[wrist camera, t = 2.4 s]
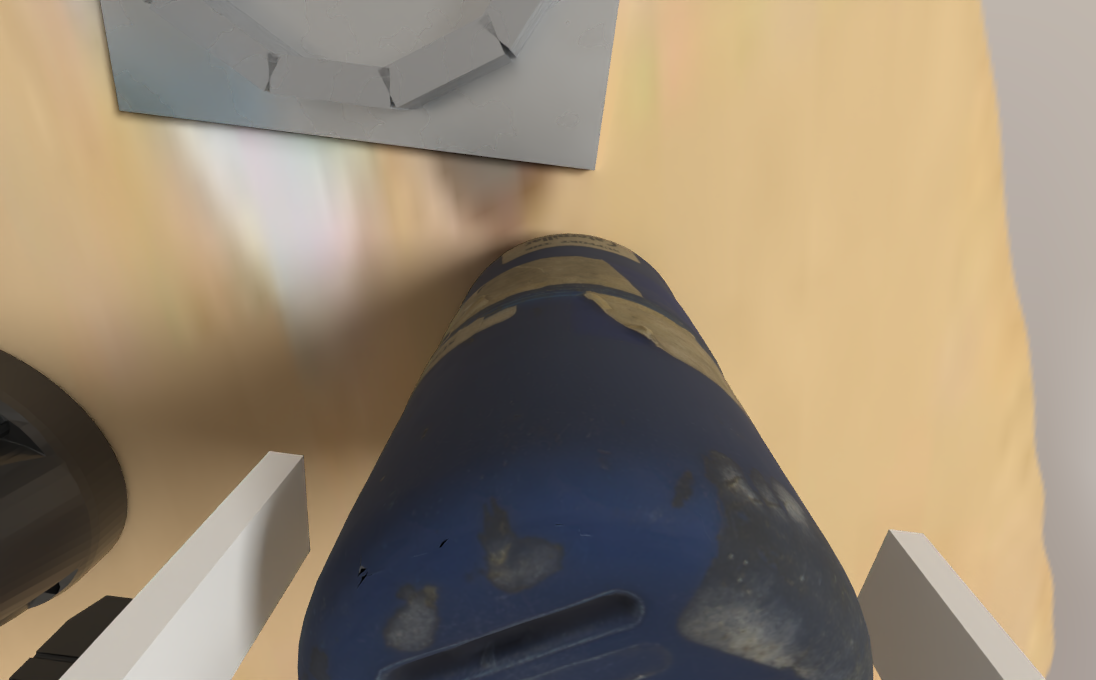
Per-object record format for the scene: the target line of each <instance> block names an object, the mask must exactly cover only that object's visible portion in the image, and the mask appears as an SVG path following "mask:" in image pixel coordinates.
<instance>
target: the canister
mask: <svg viewBox="0 0 1096 680" xmlns="http://www.w3.org/2000/svg"><path fill="white" fill-rule="evenodd" d="M298 680H873V659H872V651H871V643H870V637H869V633H868V629H867V626H866V622H865V619H864V616H863V613H862V610H861V606H860V604H859V601H858V599H857V596H856V594H855V591H854V589H853V587H852V585H851V583H850V581H849V579H848V577H847V575H846V573H845V571H844V569H843V567H842V565H841V564H840V562H839V560H838V558H837V557H836V555H835V553H834V552H833V550H832V548H831V547H830V545H829V543H828V541H827V540H826V538H825V537H824V535H823V534H822V532H821V531H820V529H819V527H818V526H817V524H816V523H815V521H814V520H813V518H812V516H811V515H810V513H809V512H808V510H807V509H806V507H805V505H804V504H803V502H802V501H801V499H800V497H799V496H798V494H797V493H796V491H795V490H794V488H793V487H792V485H791V484H790V482H789V481H788V479H787V477H786V476H785V474H784V473H783V471H782V470H781V468H780V466H779V465H778V463H777V462H776V460H775V458H774V457H773V455H772V454H771V452H770V450H769V449H768V447H767V446H766V444H765V443H764V441H763V439H762V438H761V436H760V434H759V432H758V431H757V429H756V428H755V426H754V424H753V423H752V421H751V419H750V418H749V416H748V415H747V413H746V411H745V410H744V408H743V407H742V405H741V403H740V402H739V401H738V399H737V398H736V396H735V395H734V393H733V391H732V390H731V388H730V386H729V385H728V383H727V381H726V380H725V378H724V376H723V373H722V371H721V369H720V367H719V365H718V363H717V361H716V359H715V358H714V356H713V355H712V353H711V351H710V350H709V348H708V347H707V345H706V343H705V342H704V340H703V339H702V337H701V336H700V334H699V332H698V331H697V329H696V328H695V326H694V325H693V323H692V322H691V320H690V319H689V317H688V316H687V314H686V313H685V311H684V310H683V308H682V307H681V306H680V305H679V303H678V302H677V301H676V299H675V297H674V295H673V293H672V292H671V290H670V288H669V287H668V285H667V284H666V282H665V281H664V280H663V278H662V277H661V276H660V275H659V273H658V272H657V271H656V270H655V269H654V268H653V267H652V266H651V265H650V264H649V263H647V262H646V261H645V260H644V259H642V258H641V257H640V256H638V255H637V254H635V253H634V252H632V251H631V250H629V249H628V248H626V247H624V246H621V245H619V244H617V243H614V242H612V241H608V240H605V239H602V238H598V237H594V236H590V235H582V234H556V235H549V236H544V237H540V238H536V239H533V240H530V241H528V242H525V243H523V244H521V245H518V246H516V247H514V248H512V249H511V250H509V251H507V252H506V253H504V254H503V255H502V256H500V257H499V258H498V259H497V260H496V261H494V262H493V263H492V264H491V265H490V266H489V267H488V268H487V269H486V270H485V271H484V272H483V273H482V274H481V275H480V276H479V278H478V279H477V280H476V282H475V283H474V284H473V286H472V287H471V289H470V291H469V292H468V294H467V296H466V298H465V299H464V301H463V303H462V305H461V307H460V309H459V311H458V313H457V314H456V316H455V317H454V318H453V320H452V322H451V324H450V326H449V328H448V330H447V331H446V333H445V335H444V337H443V339H442V341H441V343H440V345H439V347H438V349H437V351H436V352H435V353H434V354H433V356H432V357H431V359H430V361H429V362H428V364H427V366H426V368H425V370H424V371H423V373H422V375H421V377H420V379H419V381H418V383H417V385H416V387H415V389H414V391H413V393H412V395H411V397H410V398H409V401H408V403H407V405H406V408H405V410H404V412H403V414H402V416H401V418H400V420H399V422H398V423H397V425H396V427H395V429H394V431H393V433H392V435H391V436H390V438H389V440H388V442H387V444H386V446H385V448H384V450H383V451H382V453H381V455H380V457H379V459H378V461H377V463H376V465H375V467H374V469H373V471H372V473H371V474H370V476H369V478H368V480H367V482H366V484H365V486H364V488H363V489H362V491H361V493H360V495H359V497H358V499H357V501H356V503H355V504H354V506H353V508H352V510H351V512H350V514H349V516H348V518H347V520H346V522H345V524H344V526H343V528H342V530H341V532H340V535H339V537H338V539H337V541H336V543H335V545H334V547H333V549H332V551H331V553H330V555H329V557H328V559H327V561H326V564H325V566H324V568H323V570H322V572H321V574H320V576H319V578H318V580H317V583H316V586H315V588H314V591H313V594H312V597H311V600H310V602H309V605H308V608H307V611H306V614H305V618H304V621H303V626H302V631H301V636H300V641H299V651H298Z"/></svg>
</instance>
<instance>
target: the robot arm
mask: <svg viewBox="0 0 1096 680" xmlns="http://www.w3.org/2000/svg"><path fill="white" fill-rule="evenodd" d="M126 517H127V491H126V486H125V481H124V477H123V474H122V471H121V468H120V465H119V463H118V461H117V459H116V456H115V454H114V452H113V451H112V449H111V447H110V445H109V443H108V442H107V440H106V439H105V437H104V435H103V434H102V433H101V431H100V430H99V428H98V427H97V426H96V424H95V423H94V422H93V421H92V420H91V418H90V417H89V416H88V415H87V414H86V413H85V411H84V410H83V409H82V408H81V407H80V406H79V405H78V404H77V403H76V402H75V401H74V400H73V399H72V398H71V397H70V396H68V395H67V394H66V393H65V392H64V391H63V390H62V389H61V388H59V387H58V386H57V385H56V384H54V383H53V382H52V381H51V380H49V379H48V378H46V377H45V376H44V375H42V374H41V373H39V372H38V371H36V370H35V369H33V368H32V367H30V366H29V365H27V364H25V363H24V362H22V361H20V360H18V359H17V358H15V357H13V356H11V355H9V354H7V353H5V352H3V351H1V350H0V626H2V625H4V624H5V623H7V622H8V621H10V620H12V619H13V618H15V617H17V616H18V615H20V614H21V613H23V612H24V611H26V610H27V609H29V608H32V607H35V606H38V605H40V604H43V603H45V602H47V601H49V600H50V599H52V598H54V597H56V596H58V595H59V594H61V593H62V592H64V591H66V590H67V589H68V588H70V587H71V586H72V585H74V584H75V583H76V582H77V581H78V580H80V579H81V578H82V577H83V576H84V575H85V574H86V573H87V572H88V571H89V570H90V569H91V568H92V567H93V566H94V565H95V564H96V563H98V562H99V561H100V560H101V559H102V558H103V557H104V556H105V555H106V554H107V553H108V552H109V551H110V550H111V549H112V548H113V546H114V545H115V544H116V542H117V541H118V539H119V537H120V535H121V533H122V531H123V528H124V525H125V521H126ZM309 552H310V541H309V526H308V512H307V498H306V484H305V469H304V455H296V454H288V453H280V452H272V451H269V452H268V453H267V454H266V455H265V456H264V457H263V459H262V460H261V461H260V462H259V463H258V464H257V465H256V466H255V467H254V468H253V469H252V470H251V472H250V473H249V474H248V475H247V476H246V477H245V478H244V479H243V480H242V481H241V482H240V484H239V485H238V486H237V487H236V488H235V489H234V490H233V491H232V492H231V493H230V494H229V495H228V497H227V498H226V499H225V500H224V501H223V502H222V503H221V504H220V505H219V506H218V507H217V508H216V510H215V511H214V512H213V513H212V514H211V515H210V516H209V517H208V518H207V519H206V520H205V522H204V523H203V524H202V525H201V526H200V527H199V528H198V529H197V530H196V531H195V532H194V533H193V535H192V536H191V537H190V538H189V539H188V540H187V541H186V542H185V543H184V544H183V545H182V547H181V548H180V549H179V550H178V551H177V552H176V553H175V554H174V555H173V556H172V557H171V558H170V560H169V561H168V562H167V563H166V564H165V565H164V566H163V567H162V568H161V569H160V570H159V572H158V573H157V574H156V575H155V576H154V577H153V578H152V579H151V580H150V581H149V582H148V583H147V585H146V586H145V587H144V588H143V589H142V590H141V591H140V592H139V593H138V594H137V595H136V596H135V598H134V599H131V598H123V597H115V596H105V597H104V598H102V599H100V600H99V601H97V602H96V603H94V604H93V605H91V606H89V607H88V608H86V609H85V610H83V611H82V612H80V613H79V614H77V615H75V616H74V617H72V618H71V619H69V620H68V621H67V622H66V623H65V624H64V625H63V626H62V627H61V628H60V629H59V630H58V631H57V632H56V633H55V634H54V635H53V636H52V637H51V638H50V639H49V640H48V641H46V642H45V643H44V644H43V645H42V646H41V647H40V648H39V649H38V650H37V651H36V655H35V656H34V657H33V658H29V659H28V660H27V661H26V662H25V663H24V664H23V665H22V666H21V667H20V668H19V669H18V670H17V671H16V672H15V673H14V674H13V675H12V676H11V677H10V678H9V680H231V679H232V677H233V675H234V674H235V672H236V670H237V669H238V667H239V666H240V664H241V662H242V661H243V659H244V657H245V656H246V654H247V653H248V651H249V649H250V648H251V646H252V644H253V643H254V641H255V640H256V638H257V636H258V635H259V633H260V631H261V630H262V628H263V626H264V625H265V623H266V622H267V620H268V618H269V617H270V615H271V613H272V612H273V610H274V609H275V607H276V605H277V604H278V602H279V600H280V599H281V597H282V596H283V594H284V592H285V591H286V589H287V587H288V586H289V584H290V583H291V581H292V579H293V578H294V576H295V574H296V573H297V571H298V569H299V568H300V566H301V565H302V563H303V561H304V560H305V558H306V556H307V555H308V553H309ZM857 599H858V601H859V604H860V606H861V610H862V613H863V616H864V619H865V622H866V626H867V629H868V633H869V637H870V643H871V651H872V659H873V665H874V667H875V668H876V670H877V672H878V674H879V676H880V677H881V679H882V680H1046V679H1045V678H1044V677H1043V676H1042V675H1041V673H1040V672H1039V671H1038V670H1037V669H1036V667H1035V666H1034V665H1033V664H1032V663H1031V662H1030V660H1029V659H1028V658H1027V657H1026V656H1025V654H1024V653H1023V652H1022V651H1021V650H1020V648H1019V647H1018V646H1017V645H1016V644H1015V642H1014V641H1013V640H1012V639H1011V638H1010V636H1009V635H1008V634H1007V633H1006V632H1005V631H1004V629H1003V628H1002V627H1001V626H1000V625H999V623H998V622H997V621H996V620H995V619H994V617H993V616H992V615H991V614H990V613H989V611H988V610H987V609H986V608H985V607H984V605H983V604H982V603H981V602H980V601H979V600H978V598H977V597H976V596H975V595H974V594H973V592H972V591H971V590H970V589H969V588H968V586H967V585H966V584H965V583H964V582H963V580H962V579H961V578H960V577H959V576H958V574H957V573H956V572H955V571H954V570H953V569H952V567H951V566H950V565H949V564H948V563H947V561H946V560H945V559H944V558H943V557H942V555H941V554H940V553H939V552H938V551H937V549H936V548H935V547H934V546H933V545H932V543H931V542H930V541H929V540H928V539H927V538H926V536H925V535H924V534H922V533H915V532H907V531H899V530H891V529H889V531H888V533H887V535H886V537H885V539H884V541H883V544H882V546H881V548H880V550H879V552H878V554H877V557H876V559H875V561H874V563H873V565H872V567H871V570H870V572H869V574H868V576H867V578H866V580H865V583H864V585H863V587H862V589H861V591H860V593H859V596H858V598H857Z"/></svg>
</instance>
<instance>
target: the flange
mask: <svg viewBox="0 0 1096 680" xmlns="http://www.w3.org/2000/svg"><path fill="white" fill-rule="evenodd" d="M100 3H101V8H102V14H103V20H104V25H105V31H106V37H107V42H108V48H109V54H110V59H111V65H112V71H113V76H114V82H115V88H116V93H117V99H118V105H119V110H120V111H128V112H136V113H144V114H151V115H159V116H167V117H175V118H183V119H191V120H199V121H207V122H215V123H223V124H231V125H239V126H247V127H255V128H263V129H271V130H279V131H287V132H295V133H303V134H311V135H318V136H326V137H334V138H342V139H350V140H358V141H366V142H374V143H382V144H390V145H398V146H406V147H414V148H422V149H430V150H438V151H446V152H454V153H462V154H470V155H478V156H486V157H493V158H501V159H509V160H517V161H525V162H533V163H541V164H549V165H557V166H565V167H573V168H581V169H589V170H595V165H596V158H597V151H598V144H599V137H600V130H601V123H602V116H603V109H604V102H605V95H606V88H607V81H608V75H609V68H610V61H611V54H612V47H613V40H614V33H615V26H616V19H617V12H618V5H619V0H100Z"/></svg>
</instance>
